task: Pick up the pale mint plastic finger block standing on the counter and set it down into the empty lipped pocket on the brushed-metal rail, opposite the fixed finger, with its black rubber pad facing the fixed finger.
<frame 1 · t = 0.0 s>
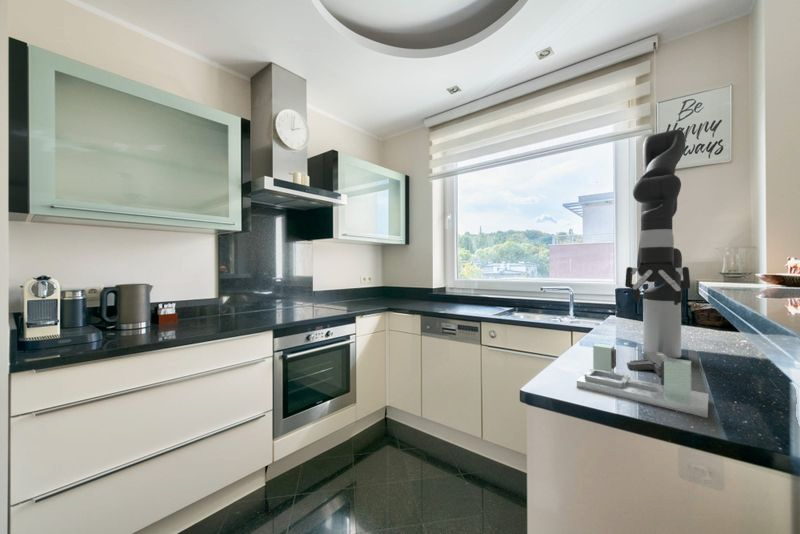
hand: (656, 303, 91), 17 cm above the counter, tool pointing down, fingers open, 8 cm apart
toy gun: (648, 370, 87), on the counter
finger: (603, 372, 85), on the counter
rail: (638, 393, 70), on the counter
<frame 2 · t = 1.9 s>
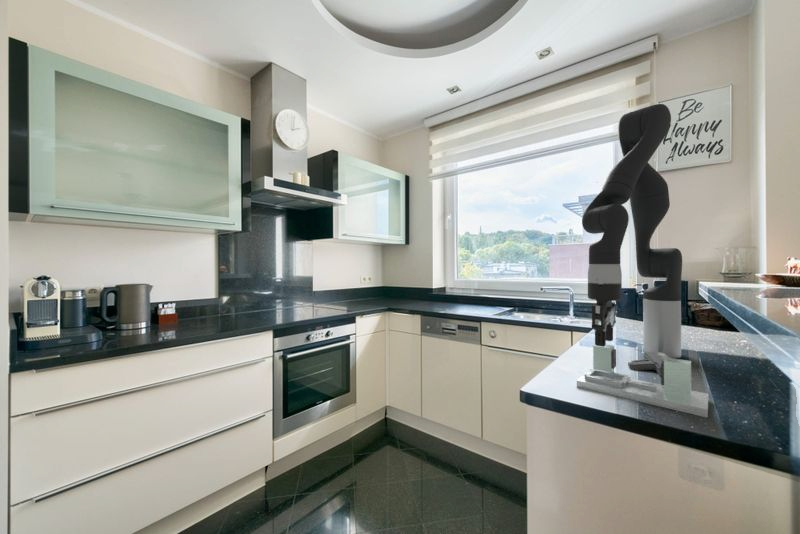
hand: (604, 343, 84), 8 cm above the counter, tool pointing down, fingers open, 8 cm apart
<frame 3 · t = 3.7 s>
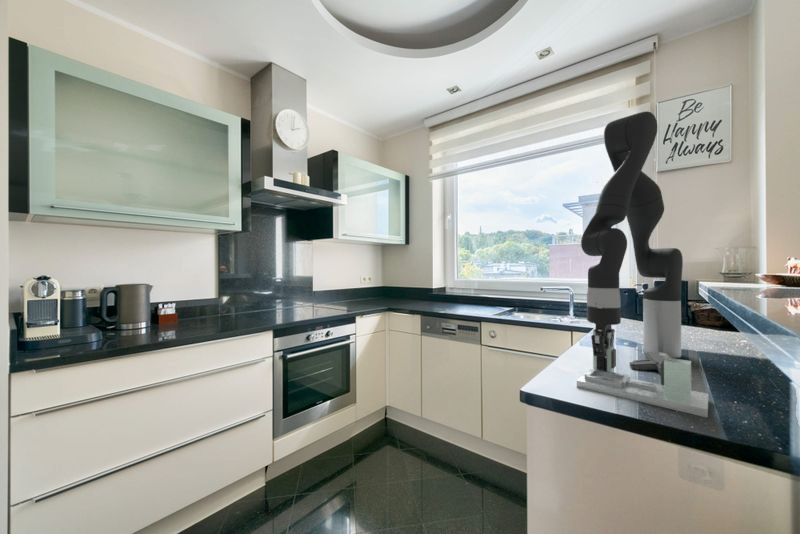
hand: (603, 369, 85), 1 cm above the counter, tool pointing down, fingers closed on finger, 3 cm apart
finger: (603, 371, 85), on the counter, touching gripper
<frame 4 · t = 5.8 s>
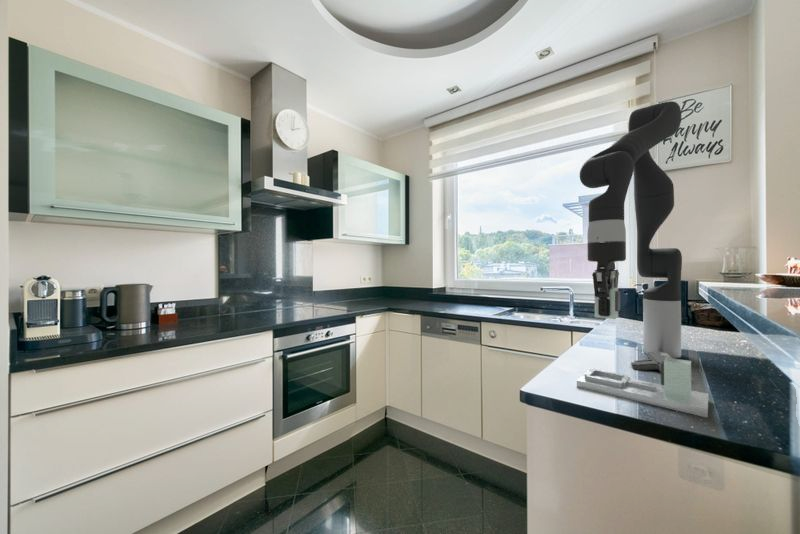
hand: (606, 314, 75), 17 cm above the counter, tool pointing down, fingers closed on finger, 3 cm apart
finger: (606, 317, 75), point 16 cm above the counter, touching gripper
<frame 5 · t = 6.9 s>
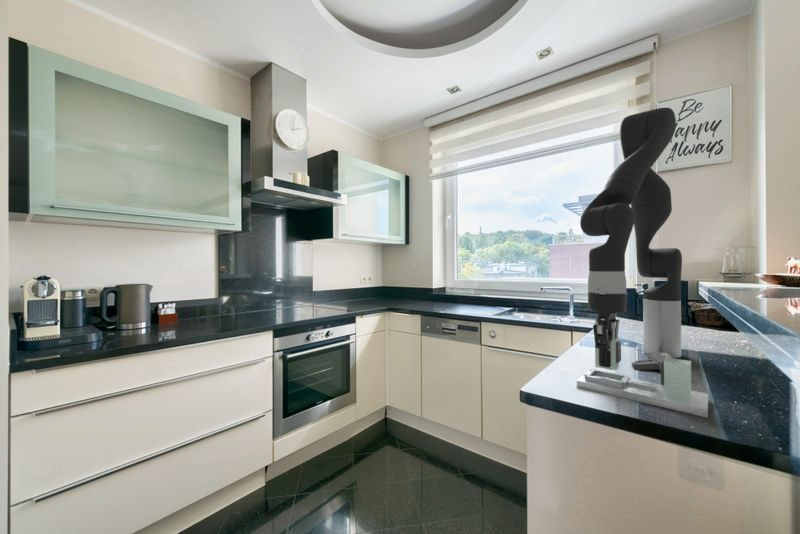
hand: (607, 364, 75), 5 cm above the counter, tool pointing down, fingers closed on finger, 3 cm apart
finger: (607, 367, 75), point 5 cm above the counter, touching gripper
when the fingers open (3 cm above the counter, at t = 8.0 s): finger stays where it is, resting on rail.
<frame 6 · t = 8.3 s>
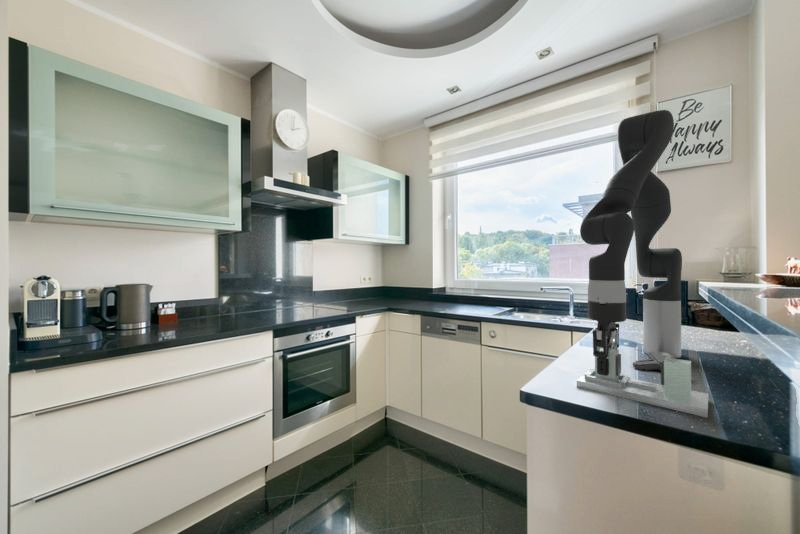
hand: (606, 370, 75), 4 cm above the counter, tool pointing down, fingers open, 6 cm apart
finger: (606, 379, 75), point 1 cm above the counter, touching rail
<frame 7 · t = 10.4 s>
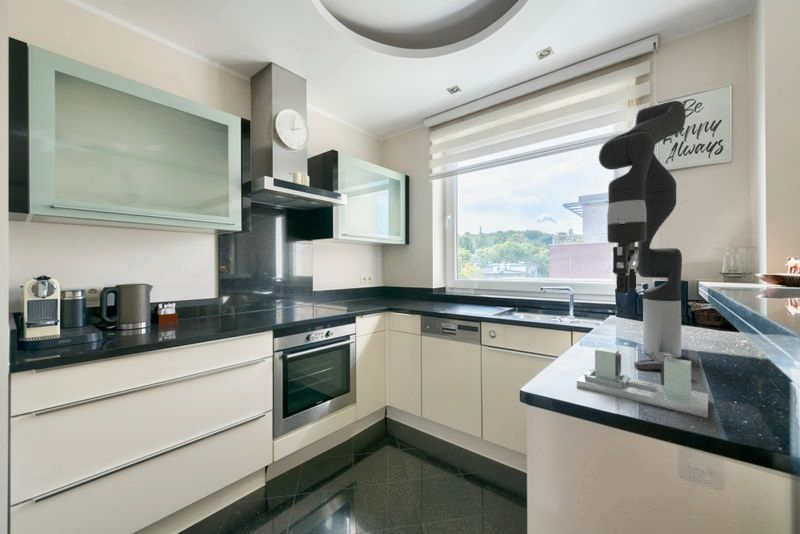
hand: (626, 290, 76), 22 cm above the counter, tool pointing down, fingers open, 8 cm apart
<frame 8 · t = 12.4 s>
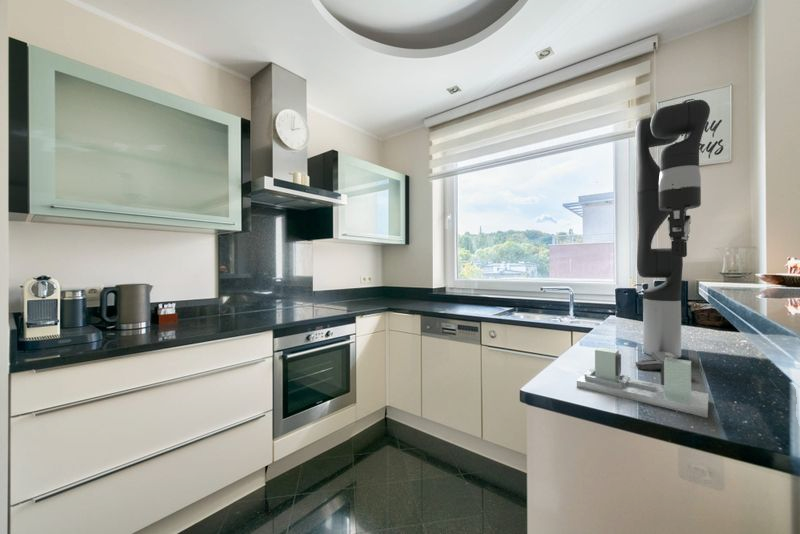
hand: (679, 257, 76), 30 cm above the counter, tool pointing down, fingers open, 8 cm apart
at the end: finger 0.1 cm from the target spot on the rail, point 1.5 cm above the rail's base; finger tilted 0°; the gripper is holding nothing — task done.
